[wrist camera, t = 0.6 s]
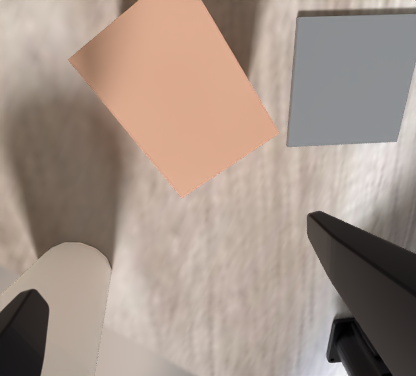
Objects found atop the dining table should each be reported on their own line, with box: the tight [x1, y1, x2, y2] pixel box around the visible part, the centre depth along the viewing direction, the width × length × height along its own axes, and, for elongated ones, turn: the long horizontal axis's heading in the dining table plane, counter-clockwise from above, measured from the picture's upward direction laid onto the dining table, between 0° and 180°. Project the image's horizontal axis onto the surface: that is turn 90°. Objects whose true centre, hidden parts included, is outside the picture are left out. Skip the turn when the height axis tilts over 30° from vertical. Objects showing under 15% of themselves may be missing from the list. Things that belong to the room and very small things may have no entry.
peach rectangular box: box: [68, 0, 279, 198], centre depth 17 cm, size 8×6×9 cm
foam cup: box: [0, 242, 112, 376], centre depth 21 cm, size 10×9×13 cm
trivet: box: [287, 14, 416, 147], centre depth 22 cm, size 9×9×1 cm
